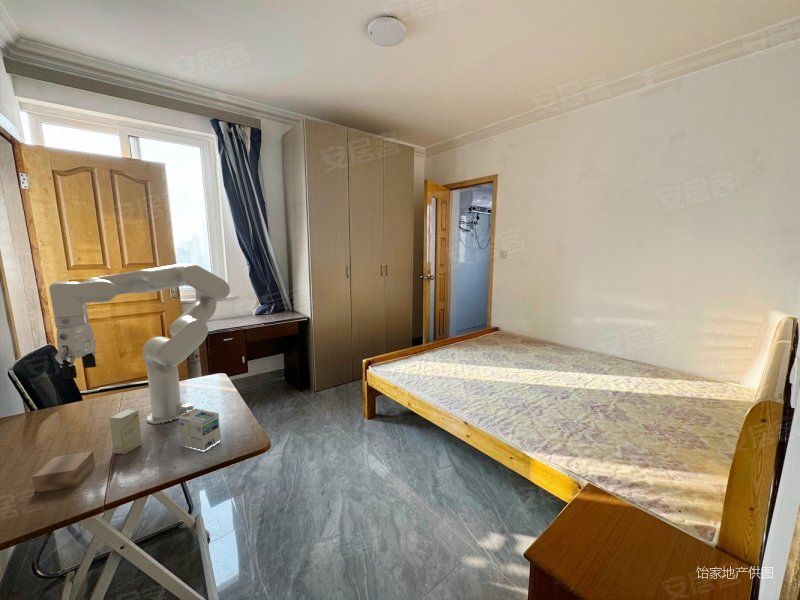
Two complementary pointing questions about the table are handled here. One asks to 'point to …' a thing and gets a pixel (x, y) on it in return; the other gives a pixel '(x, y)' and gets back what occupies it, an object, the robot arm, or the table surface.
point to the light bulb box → (199, 429)
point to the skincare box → (125, 431)
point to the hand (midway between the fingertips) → (80, 372)
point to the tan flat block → (64, 471)
